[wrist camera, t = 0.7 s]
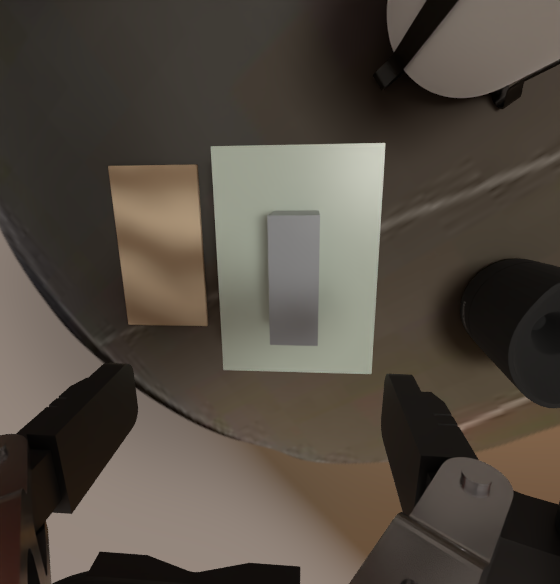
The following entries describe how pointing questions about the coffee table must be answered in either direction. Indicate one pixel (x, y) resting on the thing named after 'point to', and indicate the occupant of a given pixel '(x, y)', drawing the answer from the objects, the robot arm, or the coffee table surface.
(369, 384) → the coffee table surface
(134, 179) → the cork pad
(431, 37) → the coffee press
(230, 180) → the lid
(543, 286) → the pen holder
